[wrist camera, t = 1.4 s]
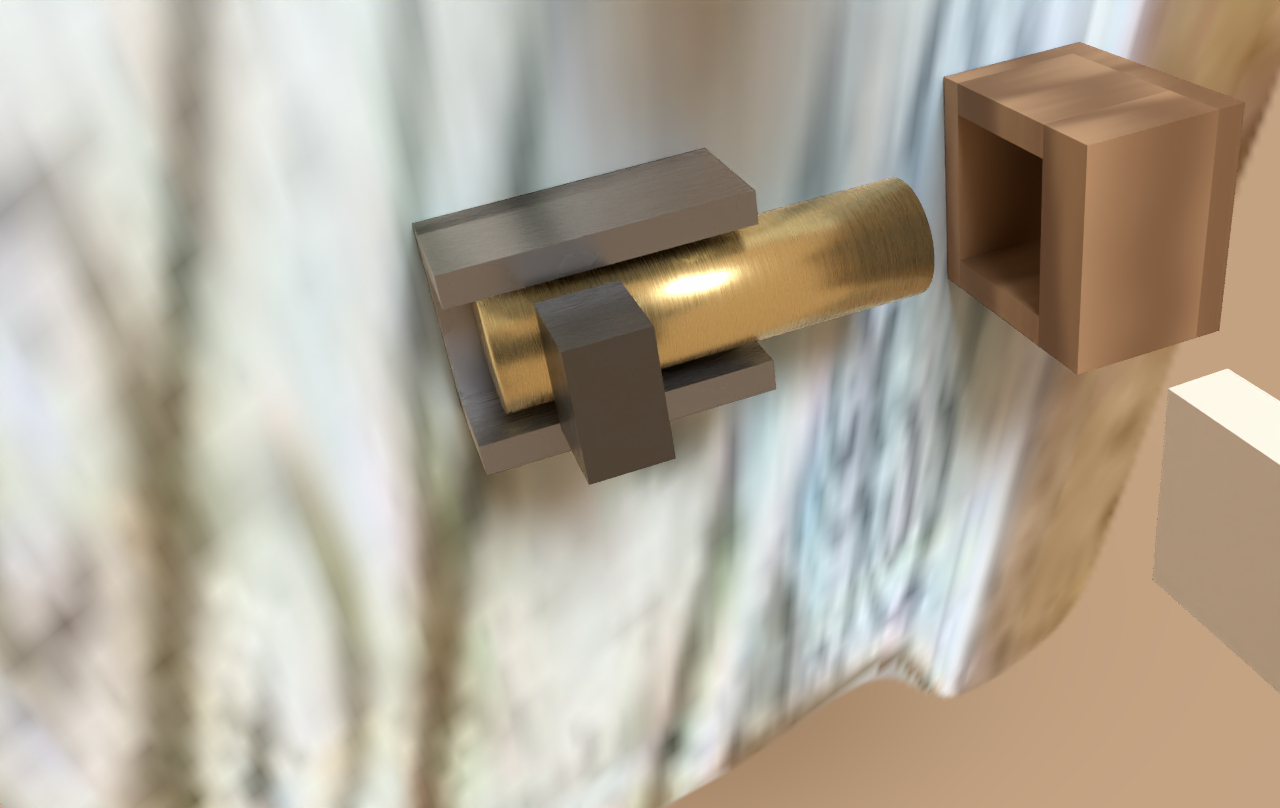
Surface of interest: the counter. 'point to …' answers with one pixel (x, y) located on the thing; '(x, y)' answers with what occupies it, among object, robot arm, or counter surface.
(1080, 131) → the socket
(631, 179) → the open channel
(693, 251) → the brass bolt
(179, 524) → the counter surface
